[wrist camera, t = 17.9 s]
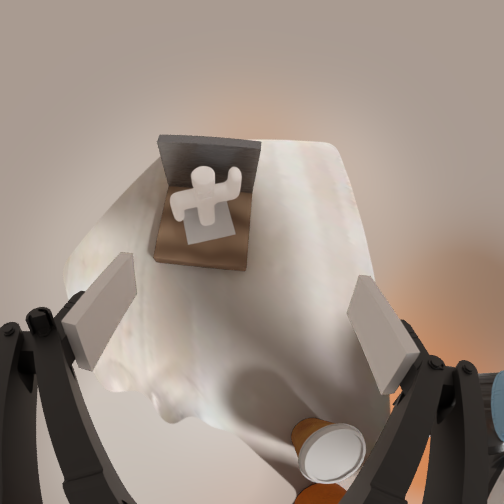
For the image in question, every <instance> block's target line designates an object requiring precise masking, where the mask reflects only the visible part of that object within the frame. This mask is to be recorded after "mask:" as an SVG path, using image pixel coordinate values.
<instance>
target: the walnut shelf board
mask: <svg viewBox="0 0 504 504" xmlns="http://www.w3.org/2000/svg"><path fill="white" fill-rule="evenodd" d="M188 189H193V188H188V187H173V186H169V188H168V192H167V196H166V200H165V204H164V209H163V213H162V217H161V222H160V227H159V231H158V236H157V241H156V247H155V252H154V257H153V258H154V259H155V260H156V262H159V263H169V264H178V265H187V266H197V267H207V268H217V269H227V270H238V271H245V270H246V266H247V253H248V240H249V227H250V214H251V201H252V193H244V192H240V193H239V196H238V197H237V198H236V199H233V200H229V201H227V204H228V208H229V212H230V215H231V219H232V222H233V226H234V230H235V233H236V234H235V235H231V236H227V237H222V238H218V239H213V240H209V241H204V242H200V243H195V244H190V245H188V242H187V237H186V232H185V227H184V222H183V220H182V221H177V220H176V219H175V218H174V215H173V212H172V209H171V205H170V197H171V195H172V194H173V193H175V192H179V191H184V190H188Z"/></svg>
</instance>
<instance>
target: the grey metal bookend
mask: <svg viewBox="0 0 504 504" xmlns="http://www.w3.org/2000/svg"><path fill="white" fill-rule="evenodd" d="M157 144H158V148H159V151H160V155H161V159H162V163H163V167H164V170H165V174H166V178H167V181H168V185H169V186H173V187H188V188H194V187H193V186H192V180H191V173H192V171H193V170H194V169H196V168H197V167H200V166H207V167H210V168H212V169H213V170H214V172H215V184H218V183H223V182H225V181H226V180H227V179H228V172H229V169H230V168H231V167H237V168H238V169H239V170H240V172H241V175H242V180H241V188H240V192H244V193H252V191H253V186H254V181H255V176H256V171H257V166H258V161H259V156H260V151H261V142H259V141H251V140H242V139H231V138H219V137H204V136H185V135H160V136H159V138H158V141H157Z"/></svg>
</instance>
